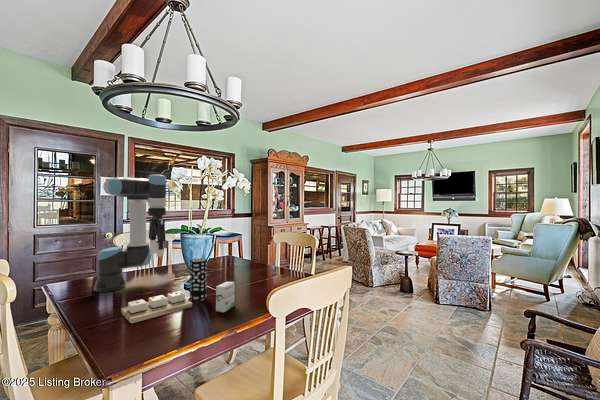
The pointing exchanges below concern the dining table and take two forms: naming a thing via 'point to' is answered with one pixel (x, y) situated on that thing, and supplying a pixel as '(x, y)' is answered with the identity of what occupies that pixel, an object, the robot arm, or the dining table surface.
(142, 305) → the one pip tile
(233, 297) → the ink box
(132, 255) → the robot arm
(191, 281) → the spotted tube
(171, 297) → the three pip tile
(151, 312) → the button board
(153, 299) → the two pip tile
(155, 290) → the dining table surface
